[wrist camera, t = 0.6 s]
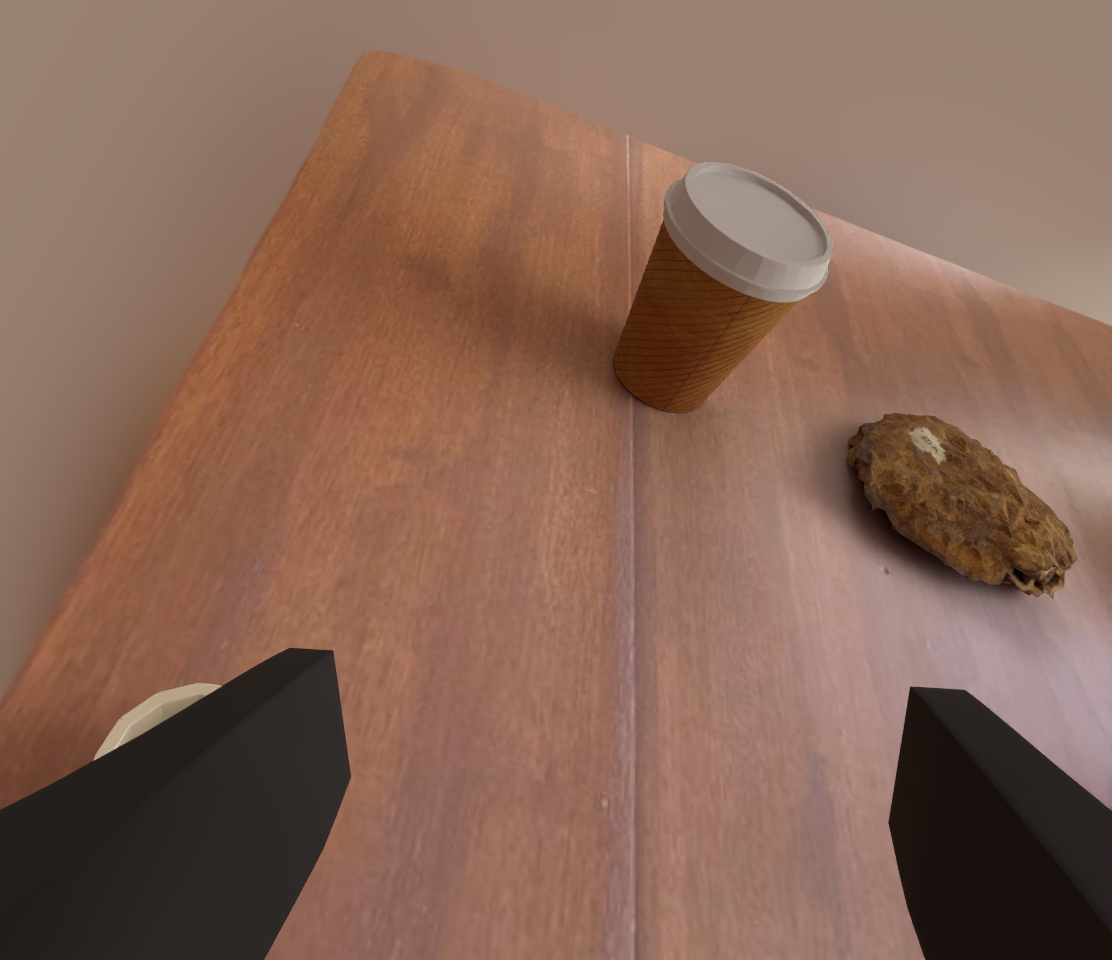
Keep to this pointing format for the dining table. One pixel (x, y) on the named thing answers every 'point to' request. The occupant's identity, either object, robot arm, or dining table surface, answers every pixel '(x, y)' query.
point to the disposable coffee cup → (717, 282)
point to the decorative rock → (961, 503)
